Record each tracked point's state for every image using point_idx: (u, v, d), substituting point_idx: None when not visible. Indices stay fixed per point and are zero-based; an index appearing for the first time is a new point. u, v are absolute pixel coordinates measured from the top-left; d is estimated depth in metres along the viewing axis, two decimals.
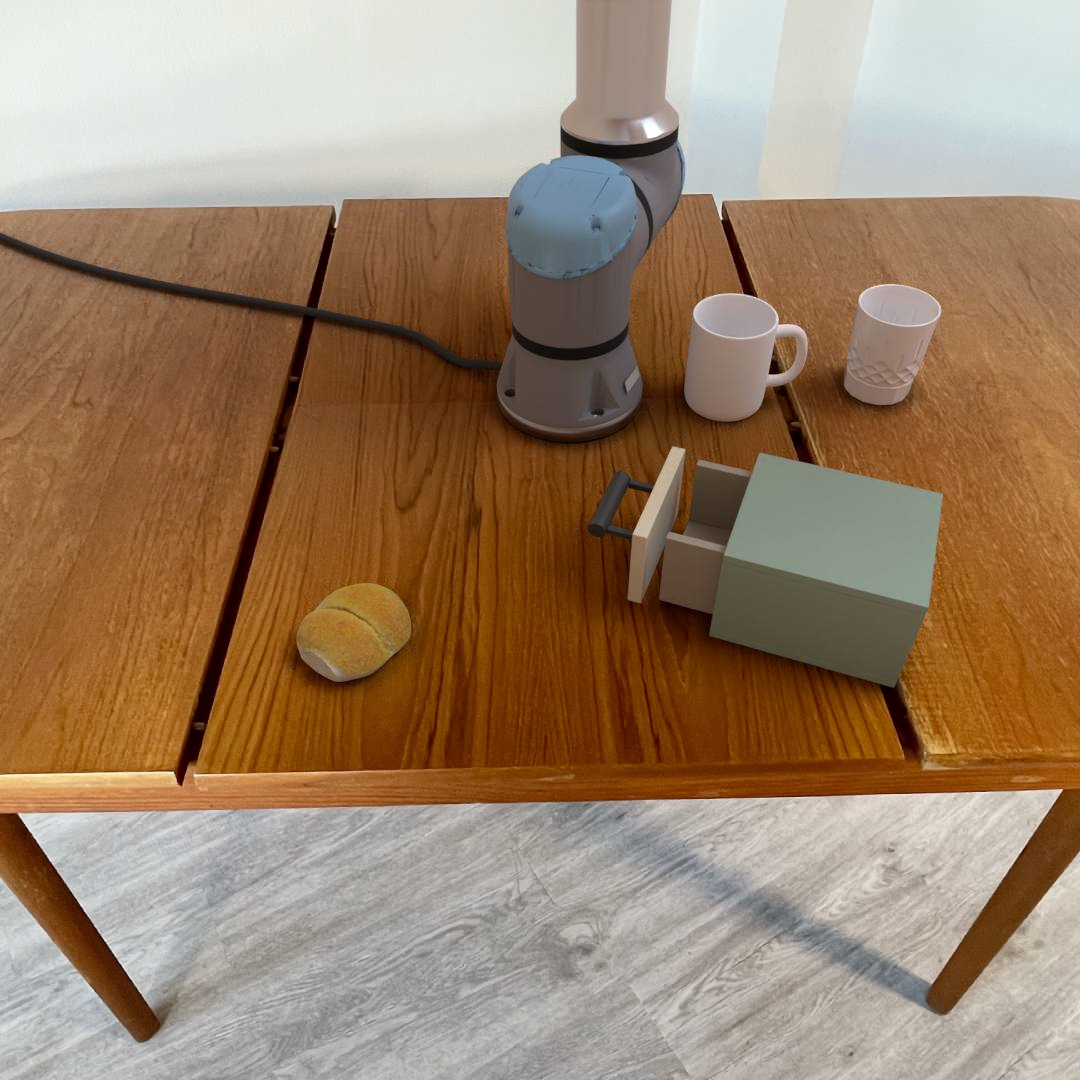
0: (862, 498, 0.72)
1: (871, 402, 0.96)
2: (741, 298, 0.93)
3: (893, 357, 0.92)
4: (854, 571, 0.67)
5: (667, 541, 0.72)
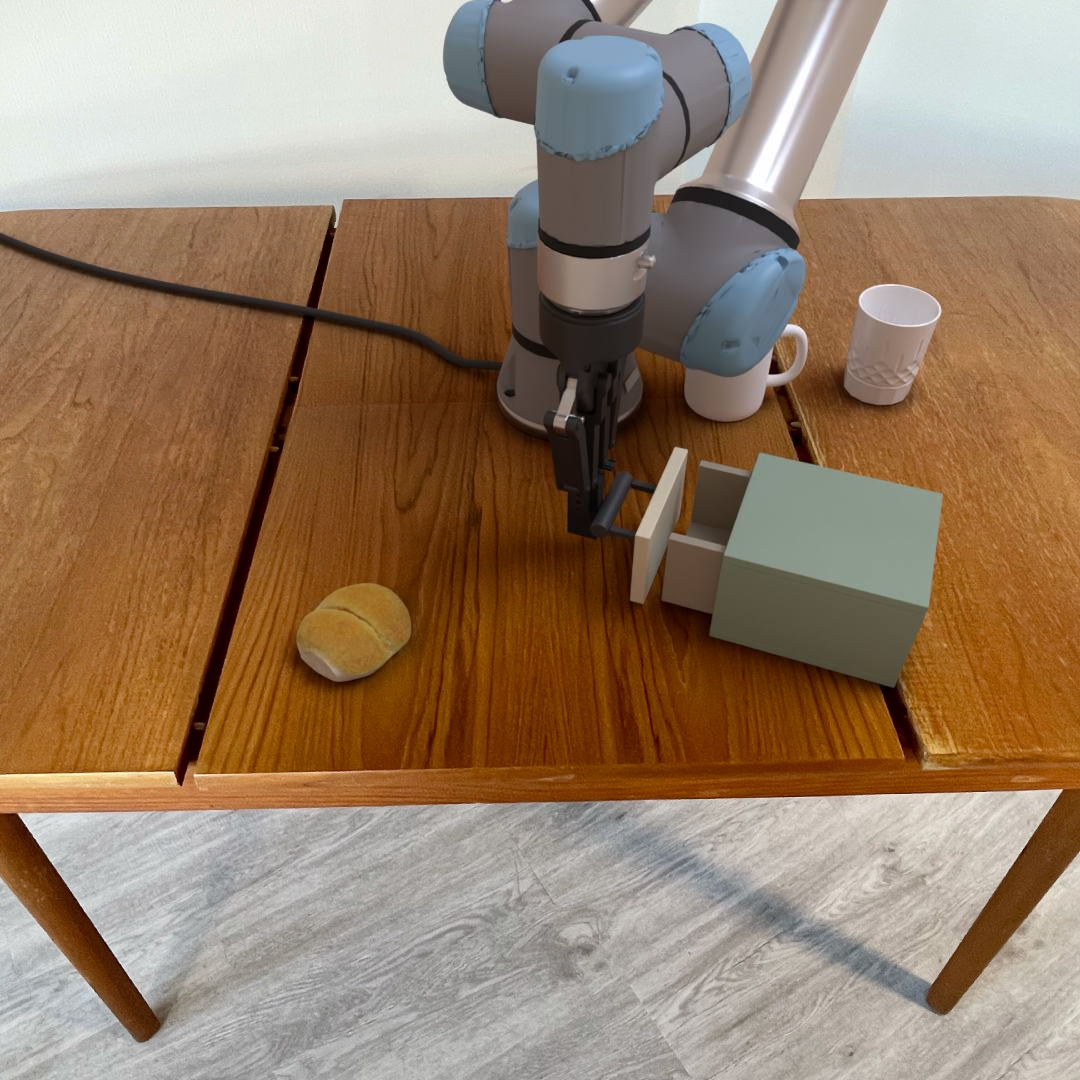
0: (862, 498, 0.72)
1: (871, 402, 0.96)
2: None
3: (893, 357, 0.92)
4: (854, 571, 0.67)
5: (669, 542, 0.71)
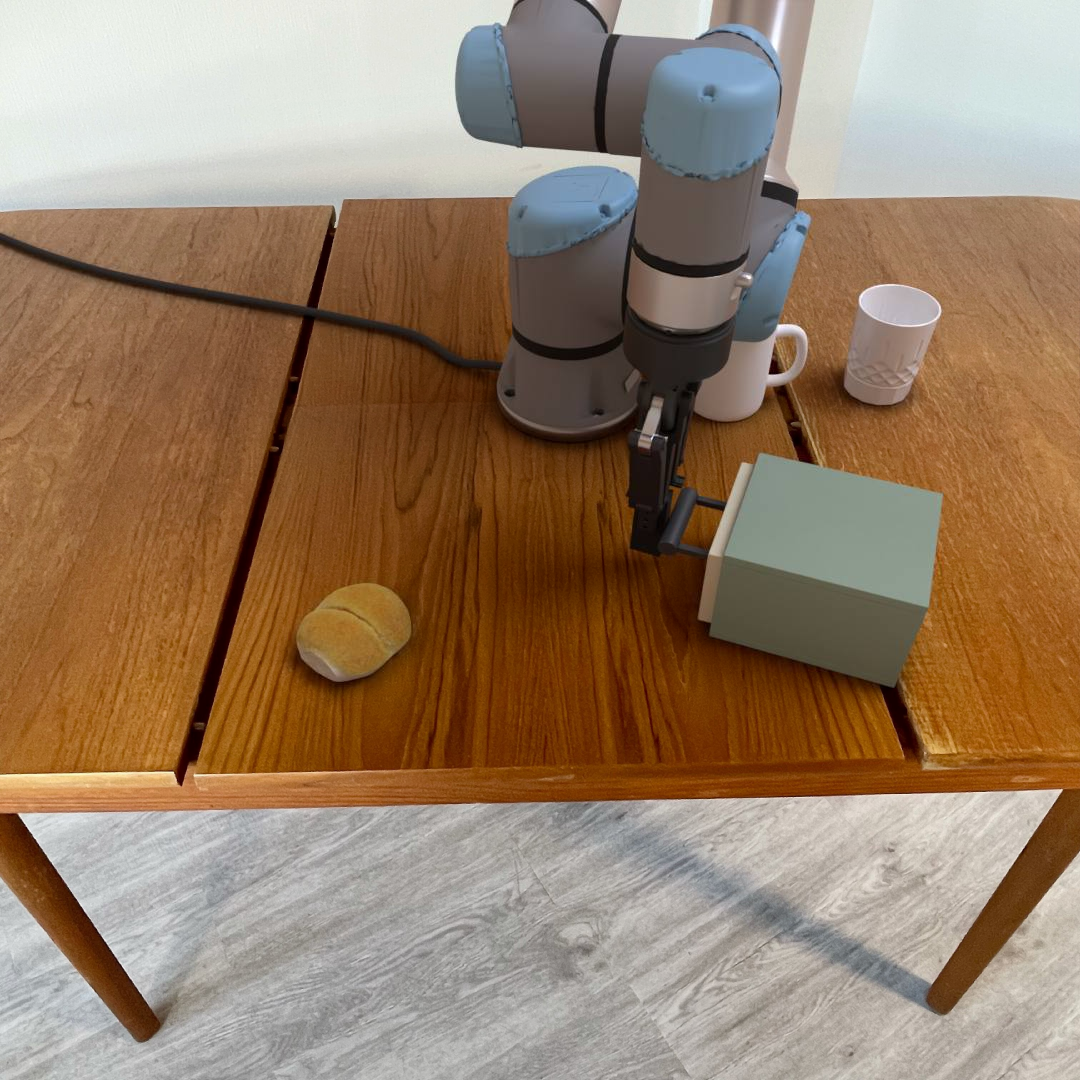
0: (862, 498, 0.72)
1: (871, 402, 0.96)
2: None
3: (893, 357, 0.92)
4: (854, 571, 0.67)
5: None
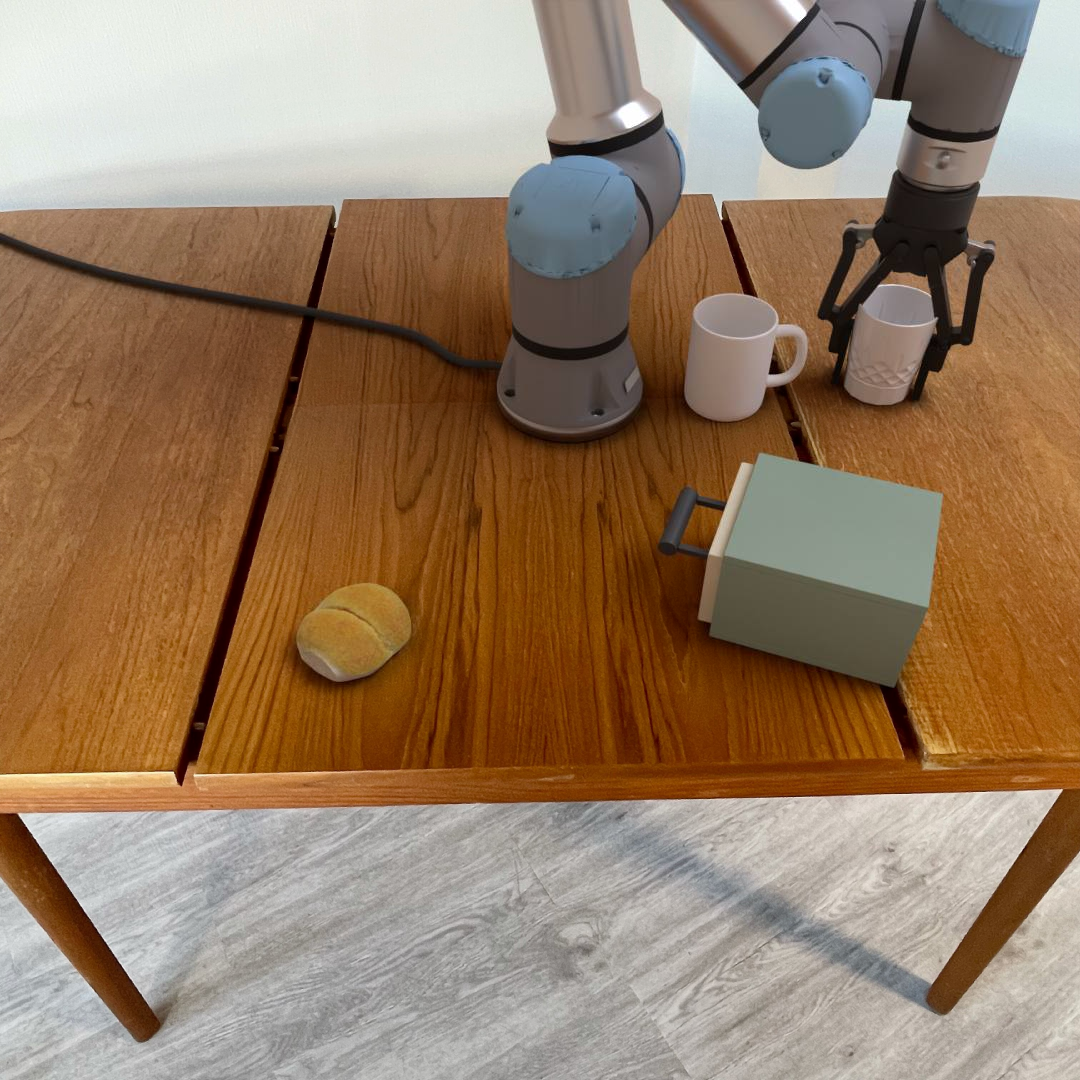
0: (862, 498, 0.72)
1: (871, 402, 0.96)
2: (741, 298, 0.93)
3: (893, 357, 0.92)
4: (854, 571, 0.67)
5: None
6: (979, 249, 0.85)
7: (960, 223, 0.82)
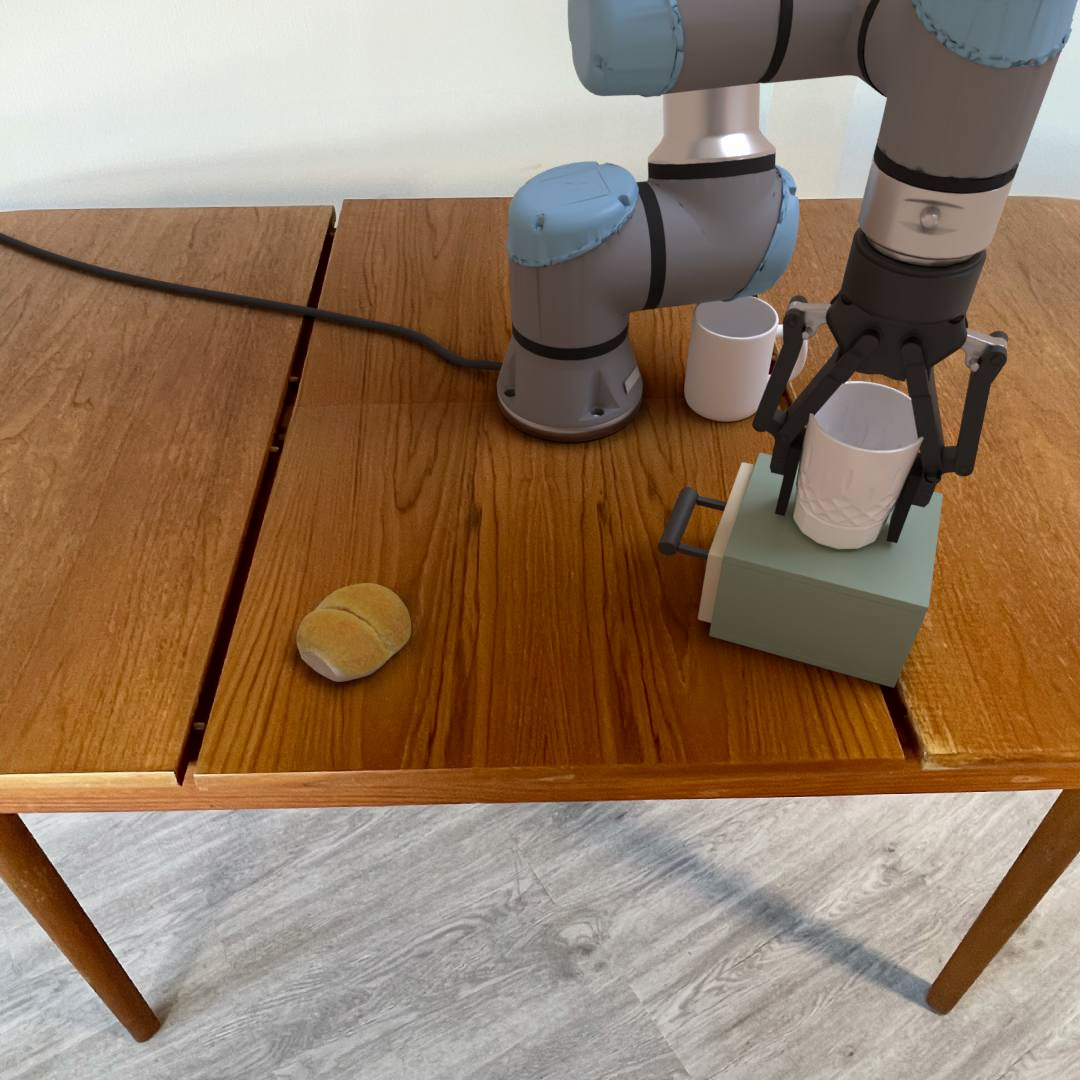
0: None
1: (830, 545, 0.68)
2: (741, 298, 0.93)
3: (859, 491, 0.63)
4: (854, 571, 0.67)
5: None
6: (984, 345, 0.57)
7: (955, 311, 0.54)
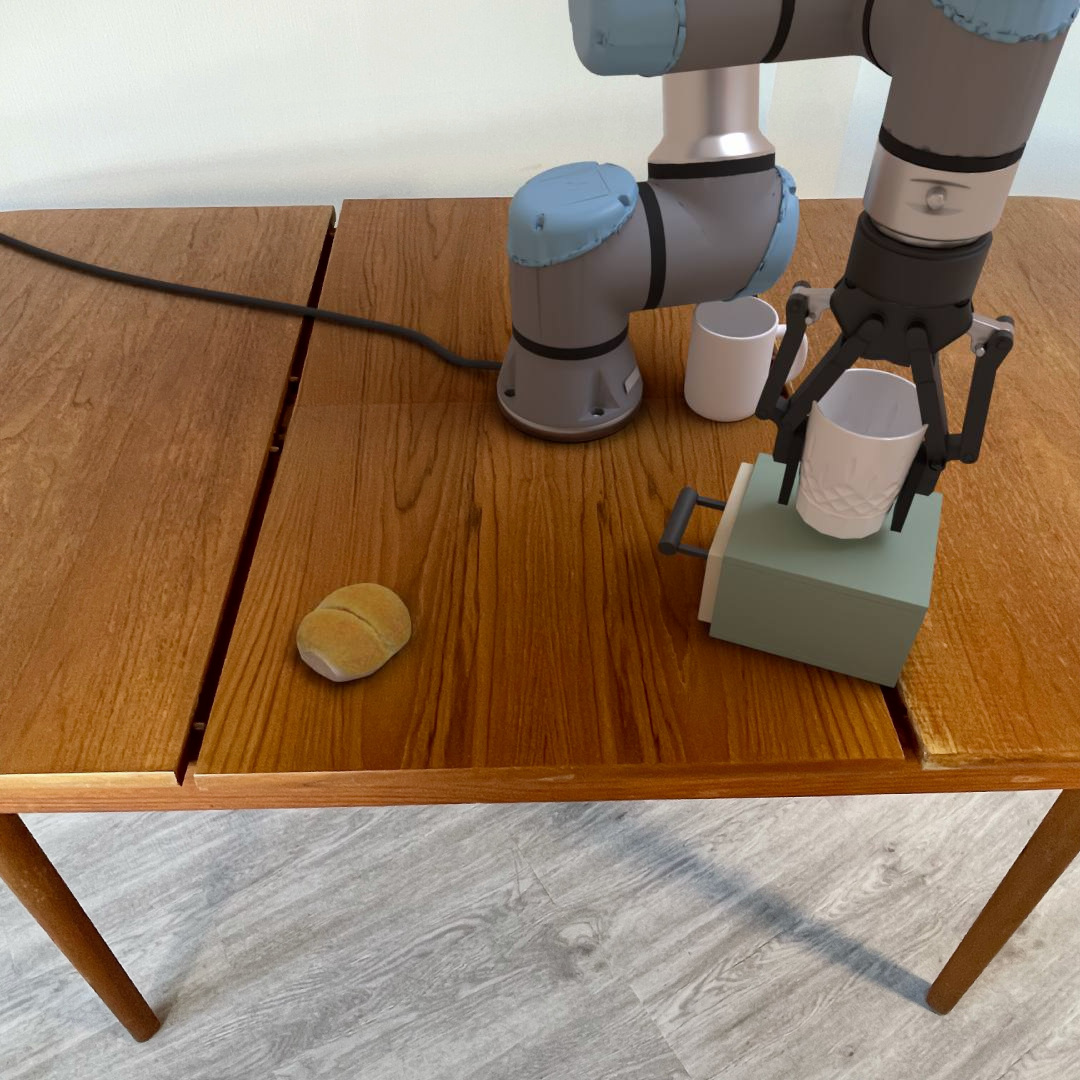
0: None
1: (833, 534, 0.67)
2: (741, 298, 0.93)
3: (862, 479, 0.63)
4: (854, 571, 0.67)
5: None
6: (990, 330, 0.56)
7: (961, 294, 0.53)
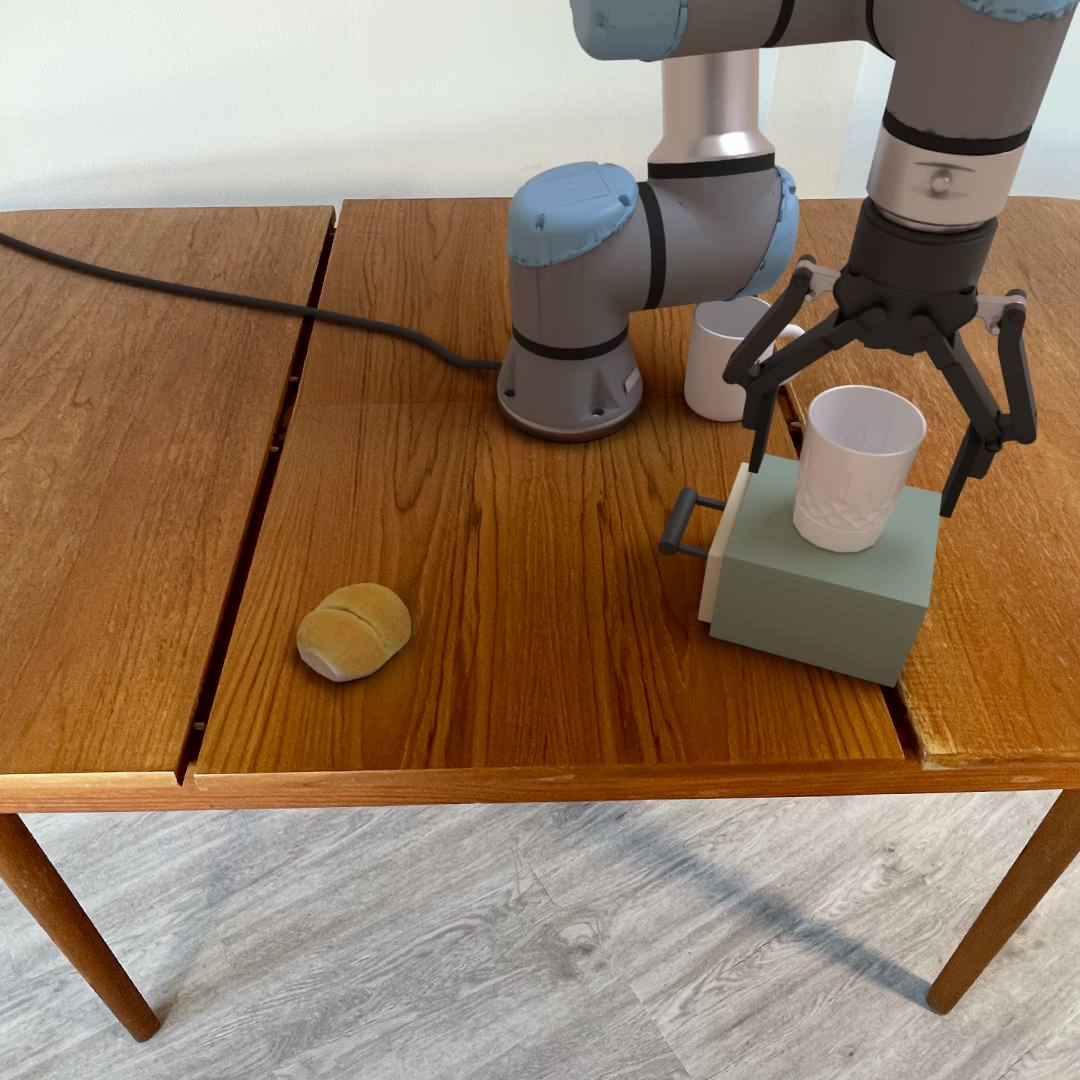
0: None
1: (829, 548, 0.68)
2: (741, 298, 0.93)
3: (858, 494, 0.64)
4: (854, 571, 0.67)
5: None
6: (999, 307, 0.55)
7: (966, 280, 0.52)
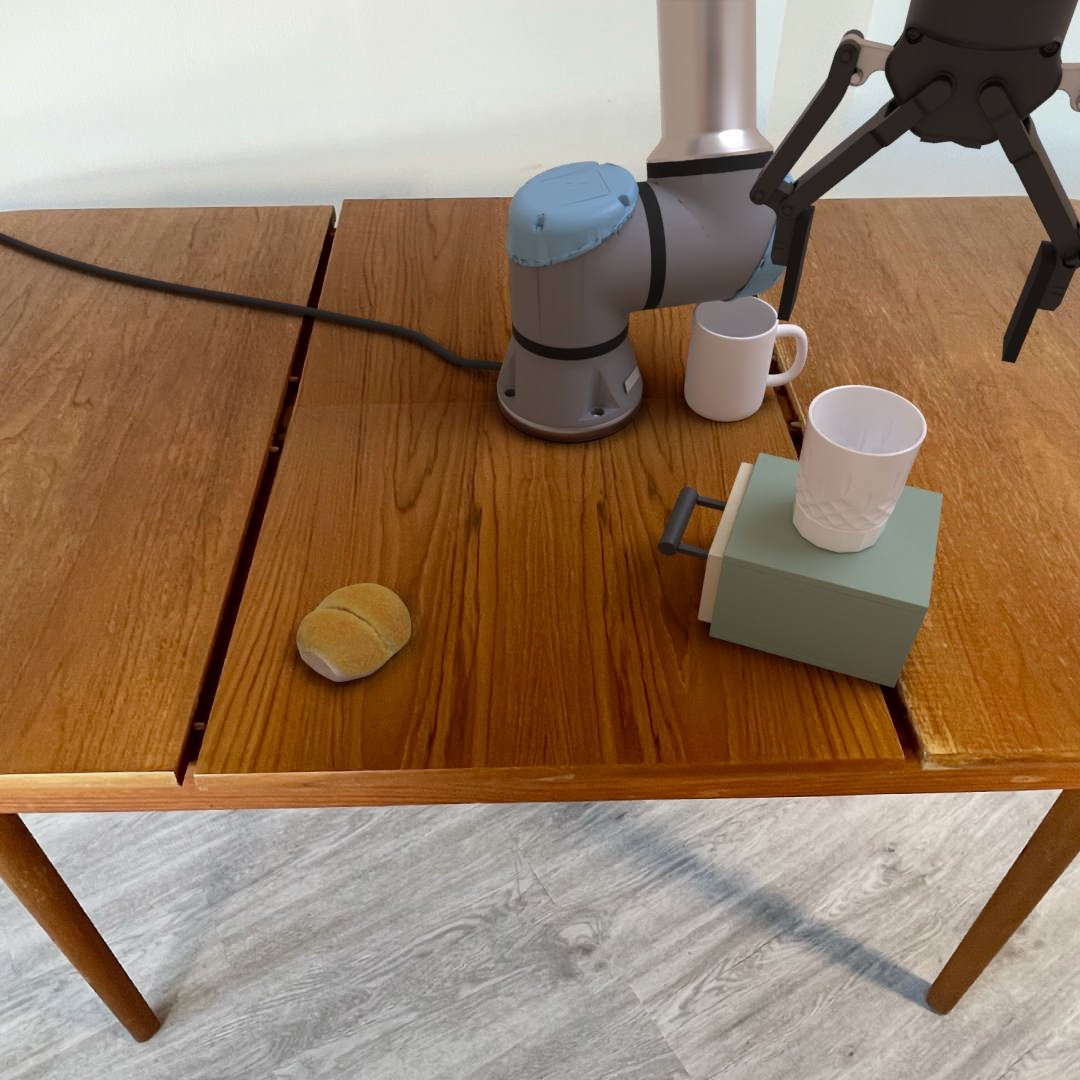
0: None
1: (829, 548, 0.68)
2: (741, 298, 0.93)
3: (858, 494, 0.64)
4: (854, 571, 0.67)
5: None
6: None
7: (1053, 30, 0.43)
